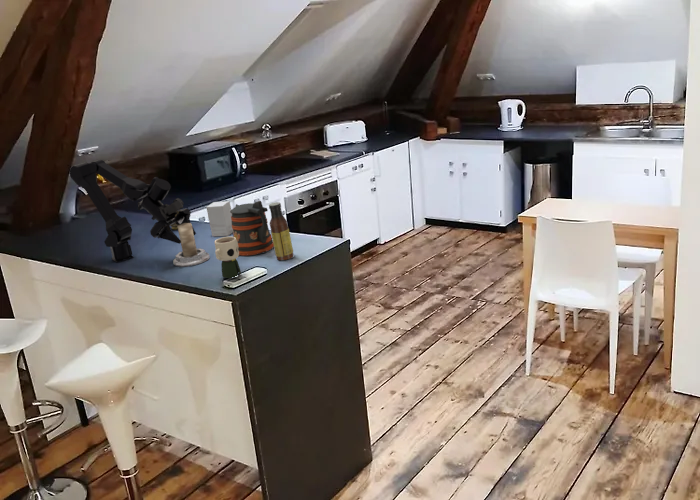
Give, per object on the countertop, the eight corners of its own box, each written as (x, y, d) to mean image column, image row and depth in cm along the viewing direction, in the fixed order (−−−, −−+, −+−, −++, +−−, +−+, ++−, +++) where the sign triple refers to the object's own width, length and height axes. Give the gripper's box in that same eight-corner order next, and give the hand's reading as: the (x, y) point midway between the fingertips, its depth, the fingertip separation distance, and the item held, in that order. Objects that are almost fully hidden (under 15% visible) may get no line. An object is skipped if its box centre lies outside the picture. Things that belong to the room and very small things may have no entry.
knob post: (184, 261, 247) (177, 228, 243) (184, 257, 252) (177, 224, 248) (198, 258, 248) (191, 225, 244) (197, 254, 252) (191, 222, 248)
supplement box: (235, 230, 281) (230, 200, 277) (228, 236, 274) (222, 205, 270) (219, 231, 283) (213, 201, 279) (211, 236, 276) (205, 206, 272)
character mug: (230, 283, 222) (222, 245, 218) (213, 281, 226) (205, 244, 221) (250, 271, 231) (244, 234, 227) (234, 270, 234) (227, 233, 230)
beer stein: (289, 248, 249) (281, 195, 243) (257, 261, 240) (247, 206, 234) (258, 241, 263) (249, 190, 256) (226, 253, 254) (217, 200, 247)
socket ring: (182, 269, 241) (180, 262, 241) (168, 261, 252) (166, 254, 251) (215, 258, 248) (214, 251, 247) (200, 251, 259) (199, 244, 258)
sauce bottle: (294, 254, 243) (286, 199, 237) (293, 259, 237) (285, 204, 231) (275, 256, 243) (267, 202, 237) (274, 262, 237) (265, 206, 231)
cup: (163, 231, 293) (159, 213, 290) (175, 226, 299) (171, 208, 296) (177, 232, 289) (173, 213, 287) (188, 226, 295) (185, 208, 293)
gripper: (150, 201, 236) (182, 231, 235) (181, 186, 252) (212, 215, 251) (136, 222, 241) (168, 253, 241) (168, 207, 258) (198, 235, 257)
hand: (187, 238), depth 247 cm, fingers open, 9 cm apart
